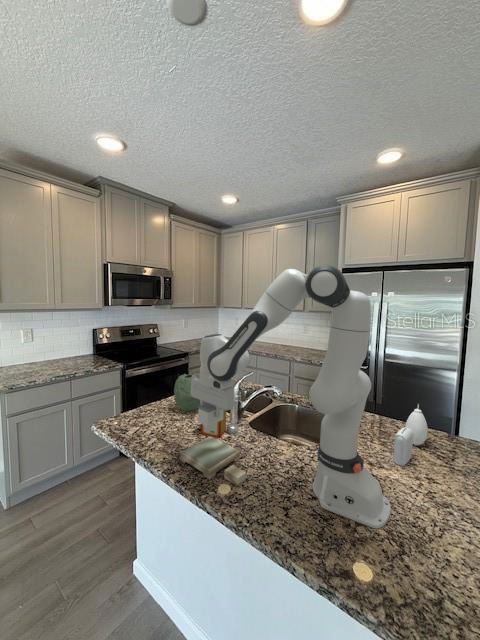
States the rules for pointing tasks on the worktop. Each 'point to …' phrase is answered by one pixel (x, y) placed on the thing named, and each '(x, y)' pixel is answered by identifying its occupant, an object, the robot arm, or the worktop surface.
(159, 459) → the worktop surface
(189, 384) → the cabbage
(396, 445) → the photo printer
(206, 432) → the baking soda box
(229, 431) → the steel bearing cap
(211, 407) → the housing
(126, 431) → the worktop surface
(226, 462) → the stand
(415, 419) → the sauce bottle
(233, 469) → the beech block
